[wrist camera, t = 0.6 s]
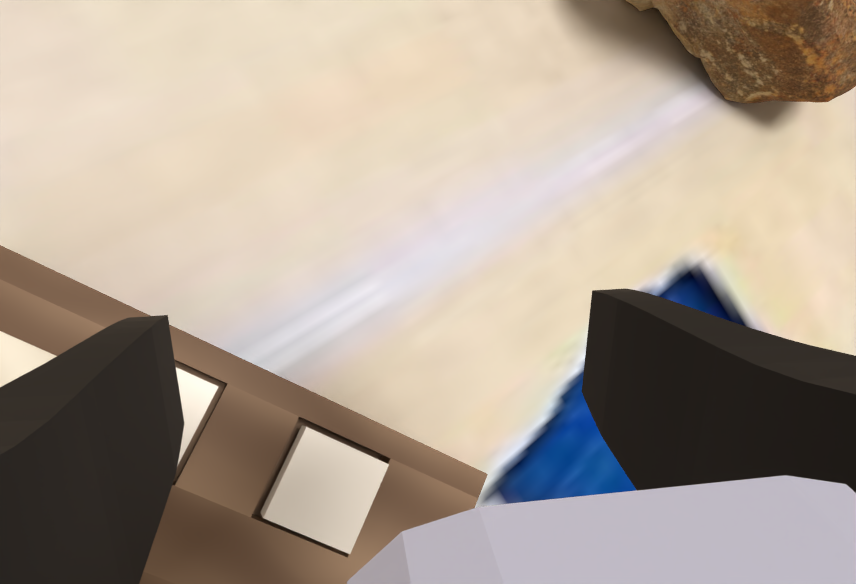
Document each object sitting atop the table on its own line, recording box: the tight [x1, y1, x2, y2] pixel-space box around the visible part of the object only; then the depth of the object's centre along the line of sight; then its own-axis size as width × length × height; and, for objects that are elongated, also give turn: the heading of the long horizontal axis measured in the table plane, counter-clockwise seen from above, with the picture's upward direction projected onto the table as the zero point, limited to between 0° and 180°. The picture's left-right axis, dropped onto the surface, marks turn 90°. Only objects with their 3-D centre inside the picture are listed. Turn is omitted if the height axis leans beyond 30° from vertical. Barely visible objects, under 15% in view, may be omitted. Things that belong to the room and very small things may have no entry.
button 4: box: [176, 367, 218, 466], centre depth 28 cm, size 4×4×1 cm
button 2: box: [260, 426, 389, 554], centre depth 30 cm, size 4×4×1 cm
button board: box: [0, 245, 487, 584], centre depth 29 cm, size 15×24×4 cm, turn 66°
